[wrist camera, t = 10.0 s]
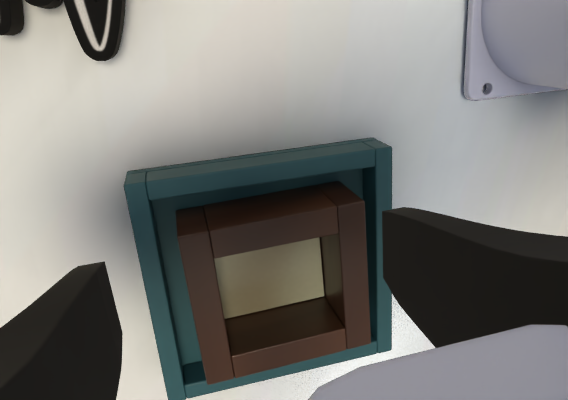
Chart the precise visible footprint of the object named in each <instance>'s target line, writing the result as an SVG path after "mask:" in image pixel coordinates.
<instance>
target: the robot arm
mask: <svg viewBox="0 0 568 400" xmlns="http://www.w3.org/2000/svg"><path fill="white" fill-rule="evenodd" d="M485 84H487V89H486V91H485V92H484V93H483V91H482V88H483V86H484V85H485ZM565 89H568V0H469V3H468V21H467V39H466V58H465V76H464V95H465V97H466V98H467V99H469V100H474V101H478V100H486V99H494V98H502V97H510V96H517V95H525V94H533V93H541V92H549V91H557V90H565ZM382 243H383V279H384V280H385V282H386V284H387V285H388V287H389V289H390V290H391V292H392V294H393V295H394V297H395V298H396V300H397V302H398V303H399V305H400V306H401V307H402V308H403V310H404V311H405V312H406V313H407V315H408V316H409V317H410V318H411V319H412V321H413V322H414V323H415V324H416V325H417V326H418V328H419V329H420V330H421V331H422V332H423V333H424V335H425V336H426V337H427V338H428V339H429V340H430V342H431V343H432V344H433V345H434V346H435V347H436V348H435V349H431V350H427V351H422V352H418V353H414V354H410V355H406V356H402V357H398V358H394V359H390V360H386V361H382V362H378V363H374V364H370V365H366V366H362V367H359V368H357V369H355V370H353V371H351V372H349V373H347V374H345V375H343V376H340V377H338V378H336V379H334V380H332V381H330V382H328V383H326V384H324V385H322V386H320V387H318V388H317V390H316V391H315V392H314V393H313V394H312V395H311V397H310V398H309V399H308V400H568V237H565V236H554V235H546V234H538V233H530V232H523V231H517V230H511V229H506V228H500V227H495V226H490V225H485V224H481V223H476V222H472V221H468V220H463V219H459V218H455V217H451V216H447V215H443V214H438V213H434V212H430V211H425V210H420V209H415V208H405V207H402V208H397V209H391V210H386V211H382ZM121 364H122V329H121V325H120V321H119V318H118V314H117V310H116V306H115V302H114V298H113V294H112V290H111V286H110V282H109V278H108V274H107V270H106V266H105V262H99V263H94V264H88V265H83V266H78V267H76V268H75V269H73V270H72V271H70V272H69V273H68V274H67V275H65V276H64V277H63V278H62V279H60V280H59V281H58V282H57V283H56V284H55V285H53V286H52V287H51V288H50V289H49V290H48V291H46V292H45V293H44V294H43V295H42V296H40V297H39V298H38V299H37V300H36V301H35V302H33V303H32V304H31V305H30V306H28V307H27V308H26V309H25V310H23V311H22V312H21V313H19V314H18V315H17V316H15V317H14V318H13V319H12V320H10V321H9V322H8V323H6V324H5V325H4V326H2V327H1V328H0V400H116V396H117V391H118V385H119V379H120V373H121Z"/></svg>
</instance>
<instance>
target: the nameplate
mask: <svg viewBox="0 0 568 400" xmlns="http://www.w3.org/2000/svg"><path fill="white" fill-rule="evenodd" d="M25 1H26V2H28V3H29V4H31V5H34V6H38V7H42V8H48V9H52V8H56V7H58V6H60V5H61V4H62V3H63V1H64V4H65V7H66V10H67V12H68V15H69V18H70V21H71V23H72V26H73V29H74V31H75V34H76V36H77V38H78V41H79V43H80V45H81V47H82V49H83V51H84V52H85V53H86V54H87V55H88V56H89V57H90V58H92V59H94V60H96V61H106V60H109V59H111V58H113V57H114V56H115V55H116V54H117V52H118V50H119V47H120V43H121V37H122V32H123V25H124V16H125V0H25ZM23 25H24V16H23V6H22V0H0V35H16V34H18V33H20V32H21V30H22V29H23Z"/></svg>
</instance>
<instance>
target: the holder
mask: <svg viewBox="0 0 568 400" xmlns="http://www.w3.org/2000/svg"><path fill="white" fill-rule="evenodd" d="M334 181H340V182H341V183H342V184H344V185H345V186H346V187H347V188H349V189H350V190H351V191H352V192H354V193H355V194H356V195H357V196H358V197H360V198H361V199H362V200H363V201H364V202H365V221H366V243H367V265H368V287H369V309H370V331H371V343H370V344H367V345H364V346H360V347H356V348H352V349H347V348H346V350H345V351H341V352H337V353H333V354H329V355H325V356H322V357H318V358H314V359H310V360H306V361H302V362H298V363H294V364H290V365H286V366H282V367H279V368H275V369H271V370H267V371H263V372H259V373H255V374H251V375H247V376H243V377H239V378H235V377H234V379H230V380H227V381H223V382H219V383H215V384H211V385H208V384H207V382H206V377H205V372H204V367H203V362H202V358H201V353H200V348H199V343H198V338H197V333H196V328H195V323H194V318H193V313H192V308H191V303H190V299H189V294H188V289H187V284H186V279H185V274H184V269H183V264H182V259H181V254H180V249H179V244H178V239H177V229H176V216H175V211H176V210H180V209H186V208H191V207H197V206H203V205H206V204H212V203H217V202H223V201H228V200H234V199H239V198H245V197H250V196H256V195H261V194H267V193H272V192H278V191H283V190H289V189H294V188H300V187H305V186H311V185H315V186H316V185H318V184H323V183H329V182H334ZM124 190H125V194H126V199H127V204H128V209H129V214H130V218H131V223H132V228H133V233H134V238H135V242H136V247H137V252H138V257H139V262H140V266H141V271H142V276H143V281H144V286H145V290H146V295H147V300H148V305H149V310H150V314H151V319H152V324H153V329H154V334H155V339H156V343H157V348H158V353H159V358H160V363H161V367H162V372H163V377H164V382H165V387H166V391H167V396H168V400H185V399H186V397H187V398H192V397H196V396H200V395H205V394H209V393H213V392H217V391H221V390H226V389H230V388H234V387H238V386H243V385H247V384H251V383H255V382H259V381H264V380H268V379H272V378H276V377H280V376H285V375H289V374H293V373H297V372H301V371H306V370H310V369H314V368H318V367H323V366H327V365H331V364H335V363H339V362H344V361H348V360H352V359H356V358H360V357H365V356H369V355H373V354H376V353H381V352H386V351H390V350H391V349H392V292H391V290H390V289H389V287H388V285H387V284H386V282H385V280H384V279H383V243H382V211H386V210H391V209H392V147H391V146H389V145H387V144H385V143H383V142H381V141H379V140H377V139H375V138H366V139H359V140H351V141H344V142H337V143H330V144H322V145H315V146H308V147H301V148H293V149H286V150H279V151H272V152H264V153H257V154H250V155H243V156H235V157H228V158H221V159H214V160H206V161H199V162H192V163H185V164H177V165H170V166H163V167H156V168H148V169H141V170H134V171H128V172H127V175H126V179H125V183H124Z"/></svg>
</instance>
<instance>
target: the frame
mask: <svg viewBox="0 0 568 400" xmlns="http://www.w3.org/2000/svg"><path fill="white" fill-rule="evenodd" d="M175 216H176V229H177V239H178V244H179V249H180V254H181V259H182V264H183V269H184V274H185V279H186V284H187V289H188V294H189V299H190V303H191V308H192V313H193V318H194V323H195V328H196V333H197V338H198V343H199V348H200V353H201V358H202V362H203V367H204V372H205V377H206V382H207V384H208V385H211V384H215V383H219V382H223V381H227V380H230V379H234V377H235V378H239V377H243V376H247V375H251V374H255V373H259V372H263V371H267V370H271V369H275V368H279V367H282V366H286V365H290V364H294V363H298V362H302V361H306V360H310V359H314V358H318V357H322V356H325V355H329V354H333V353H337V352H341V351H345V350H346V348H347V349H352V348H356V347H360V346H364V345H367V344H370V343H371V331H370V309H369V287H368V265H367V243H366V221H365V202H364V201H363V200H362V199H361V198H360V197H358V196H357V195H356V194H355V193H354V192H352V191H351V190H350V189H349V188H347V187H346V186H345V185H344V184H342V183H341V182H340V181H334V182H329V183H323V184H318V185H316V186H315V185H311V186H305V187H300V188H294V189H289V190H283V191H278V192H272V193H267V194H261V195H256V196H250V197H245V198H239V199H234V200H228V201H223V202H217V203H212V204H206V205H203V206H197V207H191V208H186V209H180V210H176V211H175Z"/></svg>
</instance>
